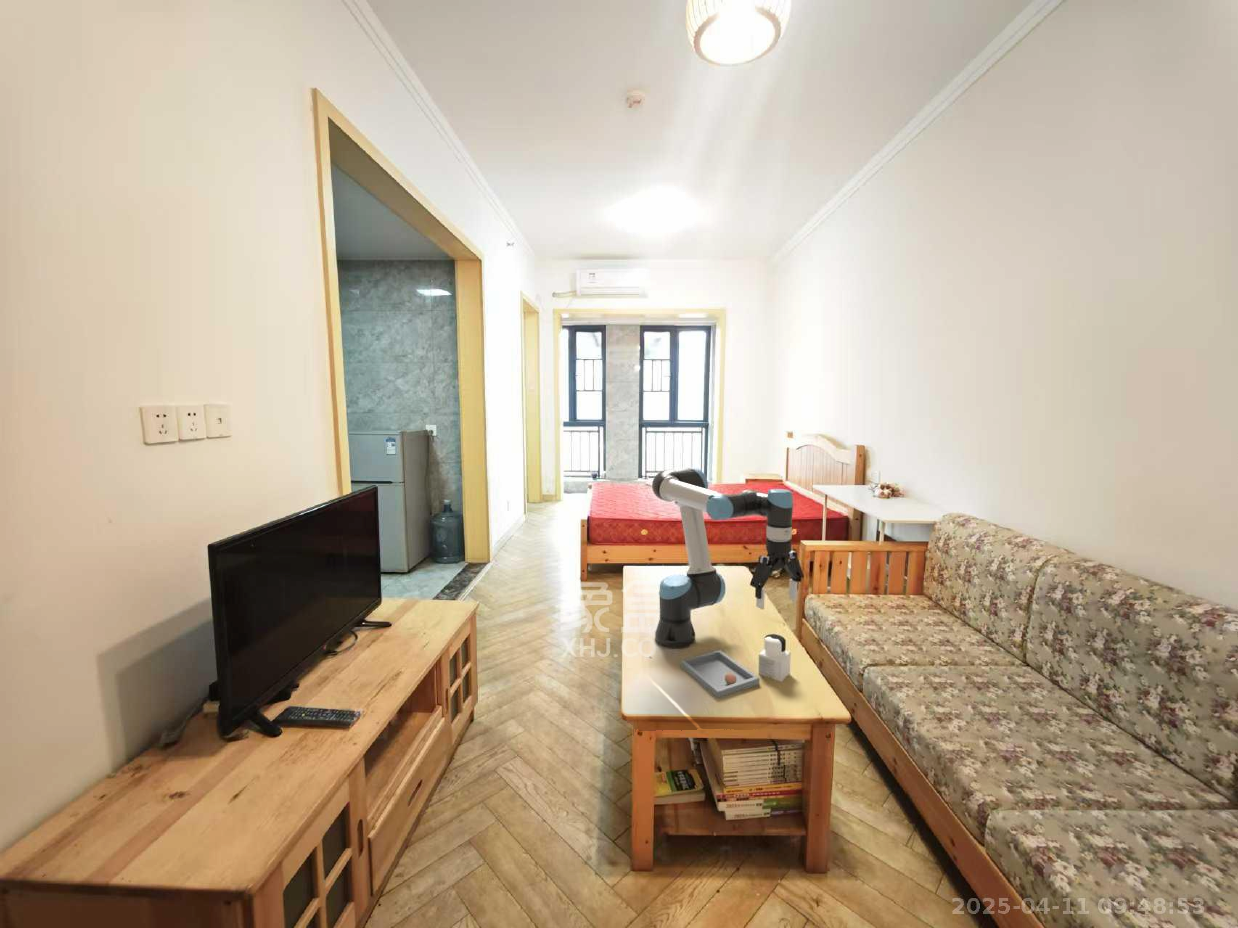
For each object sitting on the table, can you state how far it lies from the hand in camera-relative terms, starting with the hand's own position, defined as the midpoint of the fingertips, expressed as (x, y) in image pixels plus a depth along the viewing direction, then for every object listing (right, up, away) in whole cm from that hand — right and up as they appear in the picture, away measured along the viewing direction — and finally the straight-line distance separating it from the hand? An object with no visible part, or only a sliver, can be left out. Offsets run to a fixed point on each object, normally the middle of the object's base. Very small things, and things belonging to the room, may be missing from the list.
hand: (776, 603), depth 151 cm
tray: (-18, -24, +2) cm, 31 cm away
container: (0, -24, +3) cm, 25 cm away
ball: (-16, -24, -3) cm, 29 cm away
